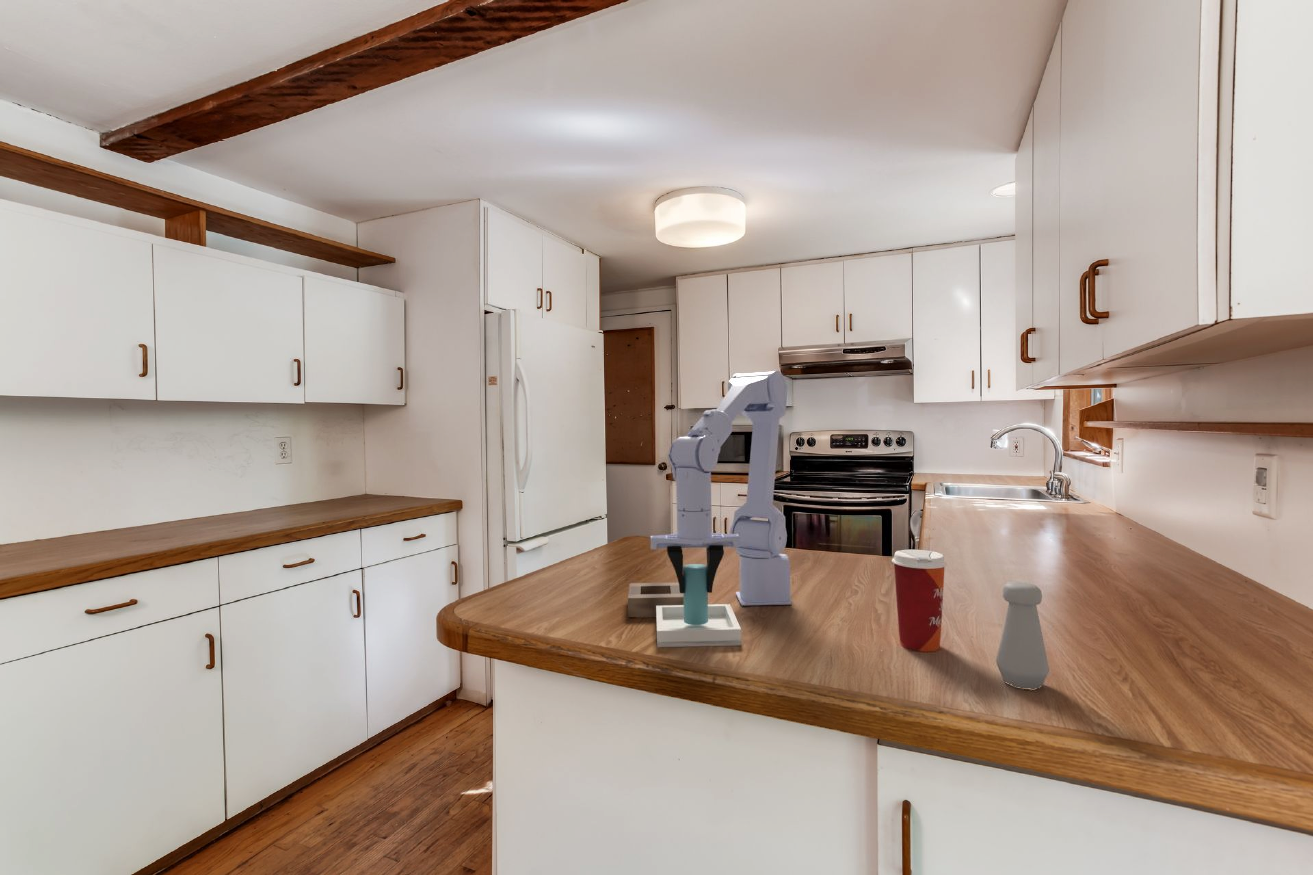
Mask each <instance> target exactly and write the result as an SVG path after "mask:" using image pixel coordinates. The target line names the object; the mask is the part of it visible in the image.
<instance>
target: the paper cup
mask: <svg viewBox="0 0 1313 875" xmlns="http://www.w3.org/2000/svg"><path fill="white" fill-rule="evenodd" d="M891 562H892V564H893V566H894V568H893V569H894V580H895V596H896V597H895V598H896V609H897V624H898V636H899V638H898V639H899V643H900V646H902V648H905V647H906V648H905V649H907V650H910V649H911V651H914V650H915V651H914V652H920V653H925V652H926V653H932V652H937V651H938V649H940V647H941V636H942V619H943V607H944V606H943V602H944V586H945V584H944V583H945V568H946V567H947V566H948V564H947V562H946V561H945V558H944V555H943V553H939V552H938V551H937V552H936V551H933V550H926V549H925V550H924V549H902V550H896V551H895V552H894V555H893V558H892V559H891ZM936 650H937V651H936Z"/></svg>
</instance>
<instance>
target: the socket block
mask: <svg viewBox="0 0 1313 875" xmlns="http://www.w3.org/2000/svg"><path fill="white" fill-rule="evenodd" d="M628 587H629V588H628V597H627V618H629V617H636V618H656V606H664V605H684V593H680V590H679V582H677V581H676V582H674V581H673V582H633V583H632V582H631V583H629V586H628Z"/></svg>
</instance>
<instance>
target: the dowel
mask: <svg viewBox="0 0 1313 875" xmlns="http://www.w3.org/2000/svg"><path fill="white" fill-rule="evenodd" d="M683 579H684V593H683V595H684V622H685V623H687V624H690V625H702V624H706V623H707V622H708V605H709V593H708V590H707V584H708V571H707V564H702V563H701V564H700V563H693V564H692V563H690V564H685V565H683Z"/></svg>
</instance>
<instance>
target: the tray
mask: <svg viewBox="0 0 1313 875" xmlns="http://www.w3.org/2000/svg"><path fill="white" fill-rule="evenodd" d="M655 618H656V621H655V622H656V644H657V645H656V647H657V648H676V647H677V648H679V647H683V648H685V647H715V646H716V647H722V646H723V647H724V646H729V647H731V646H742V628H741V626H740V624H739V622H738V619H737V617H736V615H735V612H734V610H733V607H732V606H731V604H730V603H720V604H714V603H713V604H708V622H707V623H706V624H702V625H690V624H687V623H685V622H684V605H664V606H656V617H655Z"/></svg>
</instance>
